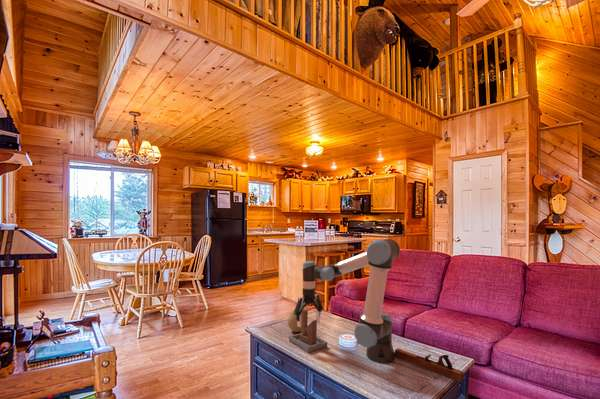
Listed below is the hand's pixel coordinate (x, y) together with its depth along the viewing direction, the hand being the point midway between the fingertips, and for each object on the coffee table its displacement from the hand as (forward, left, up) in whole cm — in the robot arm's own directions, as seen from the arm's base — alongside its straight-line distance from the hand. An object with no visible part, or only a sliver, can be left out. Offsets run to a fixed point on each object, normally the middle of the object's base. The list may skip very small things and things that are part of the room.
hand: (308, 324), depth 184 cm
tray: (0, 0, -12) cm, 12 cm away
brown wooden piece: (0, 0, -11) cm, 11 cm away
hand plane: (-55, -34, -12) cm, 66 cm away
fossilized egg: (+20, -6, -12) cm, 24 cm away
